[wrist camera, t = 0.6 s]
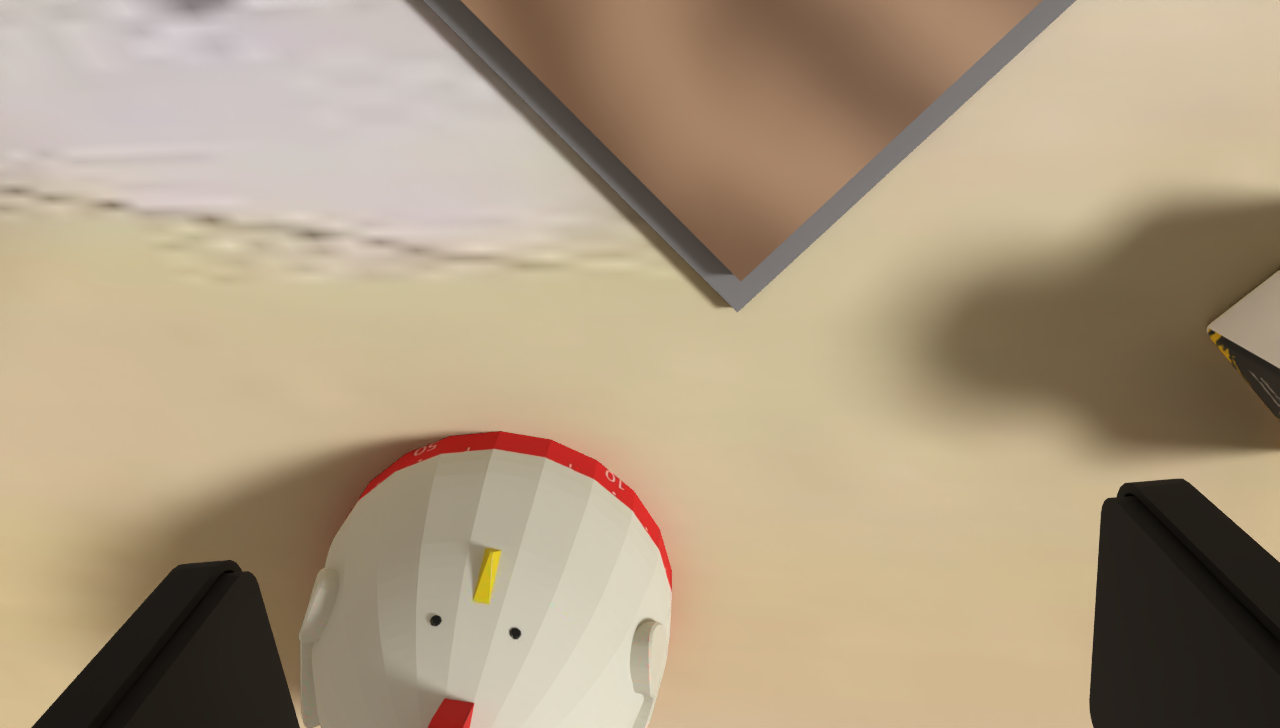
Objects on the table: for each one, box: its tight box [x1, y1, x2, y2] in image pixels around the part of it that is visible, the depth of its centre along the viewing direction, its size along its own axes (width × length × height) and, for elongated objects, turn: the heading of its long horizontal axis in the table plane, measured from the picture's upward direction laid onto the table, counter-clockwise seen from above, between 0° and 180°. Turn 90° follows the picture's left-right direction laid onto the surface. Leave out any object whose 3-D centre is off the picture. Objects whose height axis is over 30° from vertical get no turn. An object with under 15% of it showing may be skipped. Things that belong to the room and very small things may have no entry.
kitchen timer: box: [298, 431, 672, 728], centre depth 32 cm, size 14×14×15 cm
